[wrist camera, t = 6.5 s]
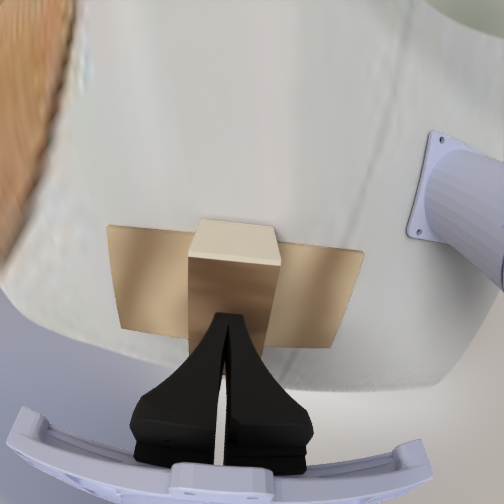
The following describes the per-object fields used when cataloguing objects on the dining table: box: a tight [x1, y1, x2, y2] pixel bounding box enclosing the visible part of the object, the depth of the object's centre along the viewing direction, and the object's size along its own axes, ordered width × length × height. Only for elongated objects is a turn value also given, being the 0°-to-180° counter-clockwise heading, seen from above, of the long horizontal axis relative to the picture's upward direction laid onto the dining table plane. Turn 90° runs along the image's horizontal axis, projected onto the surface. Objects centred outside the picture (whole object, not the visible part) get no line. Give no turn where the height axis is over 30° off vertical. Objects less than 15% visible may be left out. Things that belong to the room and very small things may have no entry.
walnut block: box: [188, 219, 281, 375], centre depth 17 cm, size 4×4×9 cm
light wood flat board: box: [106, 225, 364, 348], centre depth 20 cm, size 18×9×1 cm, turn 83°
